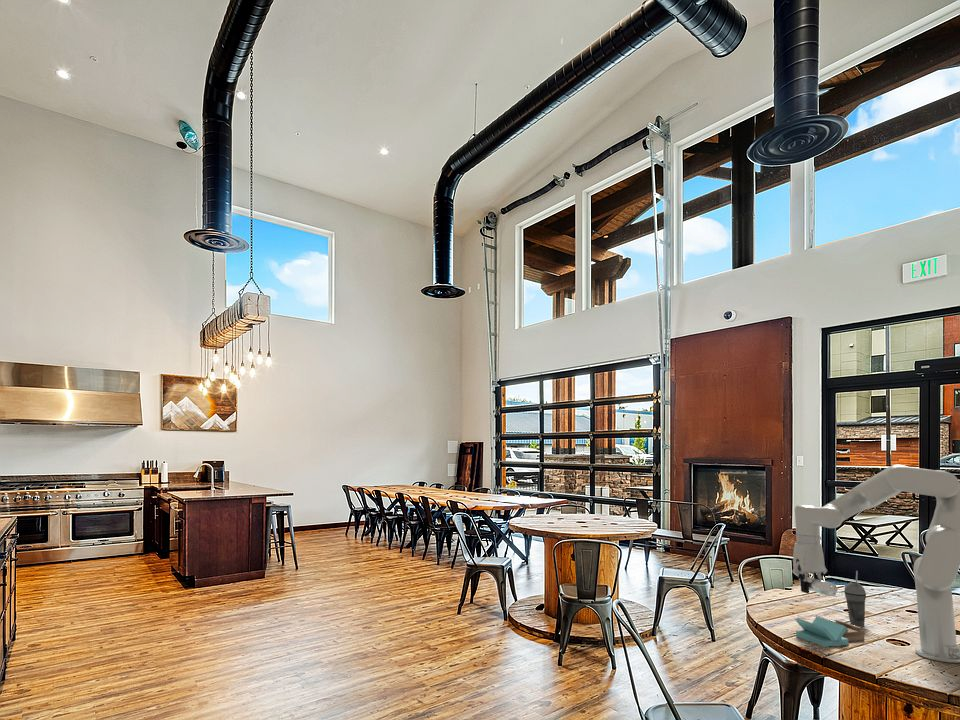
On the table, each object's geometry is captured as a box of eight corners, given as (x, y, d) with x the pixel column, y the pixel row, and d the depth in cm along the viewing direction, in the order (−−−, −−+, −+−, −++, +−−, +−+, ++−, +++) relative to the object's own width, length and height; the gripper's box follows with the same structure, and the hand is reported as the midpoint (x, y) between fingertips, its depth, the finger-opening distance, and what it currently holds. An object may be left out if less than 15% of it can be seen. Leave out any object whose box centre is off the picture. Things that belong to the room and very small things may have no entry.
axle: (837, 596, 206) (836, 583, 207) (827, 596, 205) (826, 582, 206) (809, 588, 217) (809, 576, 218) (799, 588, 216) (799, 575, 217)
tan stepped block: (864, 640, 209) (863, 627, 210) (844, 642, 207) (843, 629, 207) (840, 631, 219) (839, 619, 219) (820, 633, 216) (819, 621, 217)
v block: (848, 645, 203) (847, 625, 204) (824, 647, 201) (822, 628, 201) (819, 634, 215) (818, 616, 216) (796, 636, 212) (795, 618, 213)
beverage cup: (847, 620, 232) (844, 567, 235) (869, 624, 227) (865, 570, 230) (844, 625, 226) (840, 570, 229) (867, 628, 222) (863, 573, 225)
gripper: (818, 537, 222) (822, 588, 220) (780, 538, 218) (783, 590, 216) (835, 540, 215) (838, 593, 213) (796, 542, 211) (799, 595, 208)
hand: (811, 591), depth 214 cm, fingers closed on axle, 4 cm apart
